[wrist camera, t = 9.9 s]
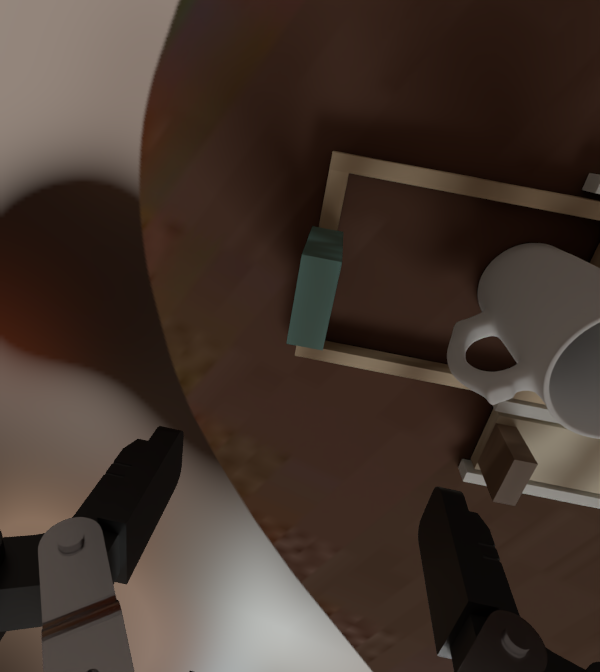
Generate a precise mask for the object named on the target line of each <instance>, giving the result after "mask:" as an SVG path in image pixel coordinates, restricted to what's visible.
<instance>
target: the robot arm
mask: <svg viewBox="0 0 600 672" xmlns="http://www.w3.org/2000/svg"><path fill="white" fill-rule="evenodd" d="M183 437H184V436H183V431H181V430H176V429H172V428H167V427H162V426H159V427H158V428H157V429H156V430H155V432H154V433H153V435H152V436H151V438H150V439H149V441H146V440H141V439H137V440H135V441H134V442H132V443H131V444H129V445H128V446H126V447H125V448H123V450H122V451H121V452H120V454H119V455H118V456H117V458H116V459H115V460H114V463H113V464H112V465H111V466H110V467H109V469H108V470H107V472H106V474H105V475H103V477H102V478H101V480H100V481H99V482H98V484H97V485H96V486H95V488H94V489H93V490H92V492H91V493H90V495H89V496H88V497H87V499H86V500H85V501H84V503H83V504H82V505H81V507H80V508H79V509H78V511H77V512H76V514H75V515H74V516H73V517H72V518H69V519H66V520H63V521H61V522H59V523H57V524H56V525H54V526H52V527H51V528H50V529H49V530H48V531H47V532H46V533H43V534H39V535H30V536H17V537H4V538H3V537H2V533H1V531H0V640H1V639H2V637H3V636H4V634H5V632H6V631H10V630H18V629H26V628H33V627H41V626H42V627H43V629H42V655H43V672H134V668H133V663H132V658H131V653H130V649H129V644H128V639H127V634H126V630H125V625H124V620H123V615H122V611H121V607H120V603H119V601H118V600H117V599H116V596H115V591H114V586H113V584H114V582H118V583H123V584H127V583H128V581H129V579H130V577H131V575H132V573H133V571H134V569H135V567H136V565H137V563H138V561H139V559H140V557H141V555H142V553H143V551H144V549H145V547H146V545H147V543H148V541H149V539H150V537H151V535H152V533H153V531H154V529H155V527H156V525H157V523H158V521H159V519H160V518H161V516H162V514H163V511H164V509H165V508H166V506H167V504H168V502H169V500H170V498H171V495H172V494H173V492H174V490H175V487H176V485H177V483H178V480H179V477H180V472H181V467H182V452H183ZM418 541H419V548H420V554H421V560H422V566H423V572H424V578H425V584H426V590H427V596H428V603H429V609H430V615H431V621H432V627H433V633H434V639H435V645H436V651H437V656H440V657H445V658H449V659H452V662H453V667H454V672H600V662H595V663H592V664H591V665H589V667H588V668H587V669H586V670H585V669H583V668H581V667H579V666H577V665H575V664H574V663H572V662H570V661H568V660H566V659H564V658H562V657H561V656H559V655H557V654H555V653H553V652H552V651H550V650H549V649H547V648H546V647H545V645H544V643H543V641H542V639H541V637H540V636H539V634H538V633H537V632H536V630H535V629H534V628H533V627H532V626H531V625H530V624H529V623H528V622H527V621H526V620H524V619H523V618H521V617H520V615H519V613H518V610H517V607H516V604H515V601H514V598H513V595H512V593H511V590H510V587H509V584H508V581H507V578H506V575H505V573H504V570H503V567H502V564H501V562H500V561H499V560H500V558H499V555H498V553H497V550H496V549H495V544H494V541H493V538H492V535H491V532H490V530H489V528H488V527H487V525H486V524H485V523H484V521H483V520H482V519H481V517H480V516H479V515H478V513H475V512H470V511H469V510H468V507H467V504H466V501H465V497H464V495H463V493H462V492H460V491H456V490H451V489H446V488H442V487H435V488H434V490H433V492H432V495H431V497H430V499H429V501H428V504H427V506H426V508H425V511H424V513H423V515H422V518H421V520H420V524H419V530H418ZM190 672H192V671H190Z"/></svg>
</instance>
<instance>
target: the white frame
mask: <svg viewBox="0 0 600 672" xmlns="http://www.w3.org/2000/svg"><path fill="white" fill-rule="evenodd" d="M349 173H351V174H356V175H362V176H367V177H372V178H378V179H383V180H388V181H393V182H399V183H404V184H409V185H415V186H420V187H425V188H430V189H436V190H441V191H446V192H452V193H457V194H462V195H467V196H473V197H478V198H483V199H489V200H494V201H499V202H504V203H510V204H515V205H520V206H526V207H531V208H536V209H541V210H547V211H552V212H557V213H563V214H568V215H573V216H578V217H584V218H589V219H594V220H600V201H598V200H593V199H588V198H582V197H577V196H572V195H566V194H561V193H556V192H550V191H545V190H540V189H534V188H529V187H524V186H519V185H513V184H508V183H503V182H497V181H492V180H487V179H481V178H476V177H471V176H465V175H460V174H455V173H450V172H444V171H439V170H434V169H428V168H423V167H418V166H412V165H407V164H402V163H396V162H391V161H386V160H381V159H375V158H370V157H365V156H359V155H354V154H349V153H343V152H338V151H333V152H332V158H331V163H330V168H329V174H328V179H327V185H326V190H325V195H324V201H323V206H322V211H321V217H320V222H319V227H315V226H312V229H311V231H310V234H309V237H308V239H307V242H306V245H305V247H304V250H303V253H302V257H301V262H300V268H299V274H298V280H297V285H296V291H295V297H294V303H293V309H292V314H291V320H290V326H289V332H288V337H287V343H286V344H291V345H296V352H295V356H300V357H305V358H310V359H315V360H320V361H325V362H330V363H335V364H341V365H346V366H351V367H356V368H361V369H366V370H371V371H376V372H381V373H386V374H391V375H396V376H401V377H407V378H412V379H417V380H422V381H427V382H432V383H437V384H442V385H447V386H452V387H457V388H462V389H467V390H471V389H469V388H467V387H466V386H464V385H463V384H462V383H460V382H459V381H458V380H457V379H456V378H455V377H454V376H453V374H452V373H451V371H450V369H449V366H448V365H447V364H442V363H437V362H432V361H427V360H422V359H417V358H412V357H407V356H402V355H397V354H391V353H386V352H381V351H376V350H371V349H366V348H361V347H356V346H351V345H346V344H340V343H335V342H330V341H325V338H326V333H327V329H328V324H329V319H330V315H331V310H332V306H333V301H334V297H335V292H336V287H337V283H338V278H339V274H340V269H341V265H342V250H343V232H341V231H337V229H338V224H339V219H340V214H341V209H342V204H343V199H344V195H345V190H346V185H347V180H348V175H349ZM590 264H592V265H594V266H596V267H598V268H600V243H599V245H598V247H597V249H596V251H595V253H594V255H593V257H592V259H591V261H590ZM513 399H518V400H523V401H528V402H533V403H538V404H544V405H546V404H545V403H544V402H543V400H542V399H541V398H540V397H539V396H538V395H537V394H536V393H535V392H532V391H520V392H517V393H516V394H515V395H514V397H513Z"/></svg>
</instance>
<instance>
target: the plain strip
mask: <svg viewBox="0 0 600 672" xmlns="http://www.w3.org/2000/svg"><path fill="white" fill-rule="evenodd" d="M471 461H472V464H473V467H474V469H477V470H481V473H482V475H483V478H484V480H485V483H486V485H487V488H488V490H489V493H490V495H491V498H492V501H493V502H498V503H503V504H508V505H513V506H515V505H516V503H517V501H518V499H519V497H520V496H521V494H522V492H523V490H524V488H525V487H526V485H527V483H528V481H529V480H532V481H537V482H542V483H547V484H552V485H557V486H562V487H567V488H572V489H577V490H582V491H587V492H592V493H597V494H600V439H596V438H590V437H586V436H582V435H579V434H577V433H574V432H572V431H570V430H568V429H567V428H565V427H564V426H562V425H561V424H558V423H553V422H548V421H543V420H538V419H533V418H528V417H523V416H518V415H513V414H508V413H503V412H498V411H495V410H494V408H493V411H492V413H491V415H490V417H489V419H488V422H487V424H486V426H485V428H484V430H483V432H482V435H481V437H480V439H479V441H478V443H477V446H476V448H475V450H474V452H473V454H472V457H471Z"/></svg>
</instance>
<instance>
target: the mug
mask: <svg viewBox="0 0 600 672" xmlns="http://www.w3.org/2000/svg"><path fill="white" fill-rule="evenodd" d="M478 302H479V306H480V308H481V310H482V313H480V314H478V315H476V316H473V317H471V318H468V319H464V320H461V321H459V322H457V323H456V324H455V326H454V329H453V332H452V336H451V339H450V342H449V346H448V350H447V362H448V366H449V369H450V371H451V373H452V374H453V376H454V377H455V378H456V379H457V380H458V381H459V382H460V383H462V384H463V385H464V386H466V387H467V388H469V389H471V390H472V391H474V392H476V393H478V394H480V395H481V396H483V397H484V398H486V399H487V401H488V402H489V403H490V404H491V405H495V404H498V403H500V402H503V401H506V400H509V399H511V398H513V397H514V395H515V394H516V393H517V392H520V391H532V392H535V393H536V394H537V395H538V396H539V397H540V398H541V399H542V400H543V402H544V403H545V404H546V407H547V409H548V410H549V412H550V413H551V415H552V416H553V417H554V419H555V420H556V421H557V422H558V423H560V424H561V425H562V426H564V427H565V428H567V429H568V430H570V431H572V432H574V433H577V434H579V435H582V436H586V437H590V438H596V439H600V268H598V267H596V266H594V265H592V264H590V263H588V262H586V261H584V260H582V259H580V258H578V257H576V256H574V255H572V254H569V253H567V252H565V251H562V250H560V249H558V248H556V247H554V246H551V245H548V244H543V243H526V244H521V245H517V246H515V247H512V248H510V249H508V250H506V251H504V252H503V253H501V254H500V255H498V256H497V257H496V258H495V259H494V260H493V261H492V262H491V263H490V264H489V265H488V266H487V268H486V269H485V271H484V272H483V274H482V276H481V278H480V281H479V285H478ZM489 336H496V337H498V338H500V340H501V341H502V342H503V343H504V345H505V346H506V348H507V349H508V351H509V352H510V354H511V355H512V357H513V358H514V360H515V361H516V362H517V364H516V365H515V366H513V367H511V368H508V369H505V370H501V371H496V372H488V371H482V370H479V369H476V368H474V367H472V366H471V365H469V364H468V362H467V361H466V351H467V349H468V347H469V346H470V345H471V344H472V343H473V342H475V341H477V340H479V339H482V338H485V337H489Z"/></svg>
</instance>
